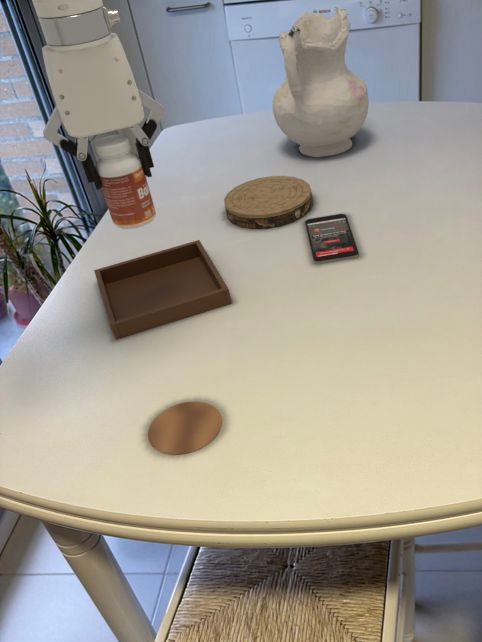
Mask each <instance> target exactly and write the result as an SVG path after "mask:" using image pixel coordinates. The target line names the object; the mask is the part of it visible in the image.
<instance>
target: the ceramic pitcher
mask: <svg viewBox="0 0 482 642" xmlns="http://www.w3.org/2000/svg"><path fill="white" fill-rule="evenodd" d="M346 9H347V8H344V7H343V8H341V7H337V6H335V7H334V10H335V13H334V15H333V16H332V17H330V18H329V17H328V16H326V15H324V14H322V13H320V12H317V13H315V12H312V11H306V12H304V13H301V15H300V16H298V17H297V18H296V19H295V21H294V23H293V25H292V27H291V29H289V30H288V31H287V32H286V31H280V33H279V35H278V43H279V48H280V50H281V53H282V55H283V63H284V71H285V74H286V75H285V78H284V80H283V81H282V82H281V84H280V85H279V87H278V88H277V90H276V91H275V93H274V95H273V99H272V113H273V117H274V120H275V122H276V125H277V127H278V128H279V129H280V131H281V132H282V133H283V134H284V135H285V136H286V137H287V138H288V139H289V140H290V141H292V142H293V143H295V144H297V145H299V147H298V150H299V151H300V153H301V154H303V155H305V156H307V157H314V158H319V157H321V158H322V157H330V156H336V155H339V154H341V153H344V152H346V151H348V150H350V149H351V148H352V147H353V141H352V140H351V138H352V137H354V136H355V135H357V133H358V132H359V131H360V130H361V128H362V127H363V125H364V123H365V121H366V119H367V116H368V113H369V105H370V101H369V91H368V87H367V84H366V83H365V81H364V80H363V79H362V78H361V77H359V76H358V75H357V74H355V73H353V72H352V70H350V69H349V68H348V66H347V64H346V49H347V43H348V40H349V36H350V32H349V30H350V29H349V25H350V23H349V18H348V15H349V14H348V13H347V10H346Z"/></svg>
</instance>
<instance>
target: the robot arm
mask: <svg viewBox="0 0 482 642" xmlns="http://www.w3.org/2000/svg"><path fill="white" fill-rule="evenodd" d="M31 1H32V5H33V7H34V10H35V13H36V16H37V19H38V21H39V24H40V28H41V31H42V34H43V36H44V40H45V43H46V45H44V46H43V47H42V48H41V51H42V57H43V62H44V67H45V72H46V76H47V79H48V83H49V86H50V90H51V93H52V96H53V100H54V103H55V107H54V109H53V111H52V113H51V114H50V116H49V119H48V120H47V122H46V124H45V126H44V128H43V130H42V134H43V135H42V136H43V138H44V139H45V140H47V141H48V142H49V143H51V144H53V145H54V146H57V147H59V148H61V150H63V151H64V152H66V153H68V154H70V155H71V156H74V157H75V158H77V159H78V161H80V163H81V165H82V169H83V171H84V175H85V177H86V179H87V182H88V184H90V183H91V184H92V183H94V186H95V189H96V191H99V190H101V189H102V187H101V184H100V181H99V178H98V175H97V172H96V169H95V163H94V160H93V158H92V155H91V153H89V151H88V146H89V137H92V136H96V135H101V134H105V133H109V132H115V131H119V130H123V129H127V128H128V129H129V130H130V131H131V132H132V134H133V135H134V137H135V148H136V151H137V155H138V156H139V158H140V159H141V162H142V165H143V169H144V172H145V176H146V178H151V177H153V175H152V171H151V169H153V168H154V167H155V164H154V161H153V157H152V154H151V150H150V146H149V145H150V143H151V139H152V138H153V136H154V134H155V132H156V130H157V129H158V125H159V123H160V122H161V120H162V118H163V116H164V114H165V112H166V109H165V107H164V106H163V105H162V104H161V103H160V102H158V101H157V100H155V99H153V98H152V97H151V96H149V94H146V93H145V92H143V91H142V90H141V89H140V88H138V86H137V84H136V79H135V76H134V73H133V70H132V68H131V65H130V63H129V60H128V58H127V54H126V52H125V49H124V46H123V44H122V42H121V40H120V38H119V36H118V34H117V33H116V32H112V28H113V26H115V24H117V23H118V24H119V23H121V17H120V14H119V11H118V9H111V8H109V9H108V8H107V7H106V6H104V2H103V0H31ZM144 107H145V108H147V109H148V110H150V112H149V115H148V117H147V118H146V119H145V110H144ZM144 119H145V121H144ZM143 121H144V122H143ZM142 122H143V124H142V126H141V125H140V124H141V123H142ZM61 125H63V127H64V129H65V130H66V133H67V134H68V136H70V137H73V138H74V141H73V140H71V139H69V138H68V137H66V136H63V135H62V134H60V133H59V132H58V131H59V129H60V127H61Z"/></svg>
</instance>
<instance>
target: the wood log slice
mask: <svg viewBox="0 0 482 642" xmlns="http://www.w3.org/2000/svg"><path fill="white" fill-rule="evenodd" d="M312 192H313V191H312V188H311V184H310V183H308V182H307V181H306V180H305V179H302V178H299V177H295V176H290V175H270V176H269V175H268V176H265V177H264V176H263V177H257V178H254V179H250V180H247V181H245V182H243V183H241V184H238V185H237V186H234V187H233V188H232V189H231V190H229V191H228V192H227V194H226V195H225V196H224V198H223V202H224V208H225V213H226V217H227V220H228V221H229V222H230V223H231V225H235V227H236V226H237V227H239V228H241V229H248V230H270V229H276V228H281V227H284V226H288V225H290V224H293V223H296V222H297V221H299V220H301V219H303V218H305V216H306V215H308V214H309V213H310V212H311V211H312V208H313V205H314V201H313V193H312Z"/></svg>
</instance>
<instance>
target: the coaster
mask: <svg viewBox="0 0 482 642" xmlns="http://www.w3.org/2000/svg"><path fill="white" fill-rule="evenodd" d="M222 427H223V418H222V414H221V412H220V411H219V410H218V409H217V408H216V407H215V406H213V405H212V404H210V403H208V402H203V401H184V402H181V403H180V402H179V403H178V404H174V405H172V406H169V407H168V408H166V409H164V410H162V411H161V412H159V413H158V415H156V416H155V418H154V419H153V420H152V421H151V423H150V425H149V427H148V431H147V439H148V441H149V444H150V445H151V447H152V448H153V449H154V450H156V451H157V452H159V453H161V454H165V455H169V456H180V455H181V456H182V455H188V454H191V453H194V452H197V451H200V450H201V449H203V448H205V447H206V446H208V445H209V444H211V443H212V442H213V441H214V440H215V439H216V438H217V437H218V435H219V434H220V432H221V430H222Z"/></svg>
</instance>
